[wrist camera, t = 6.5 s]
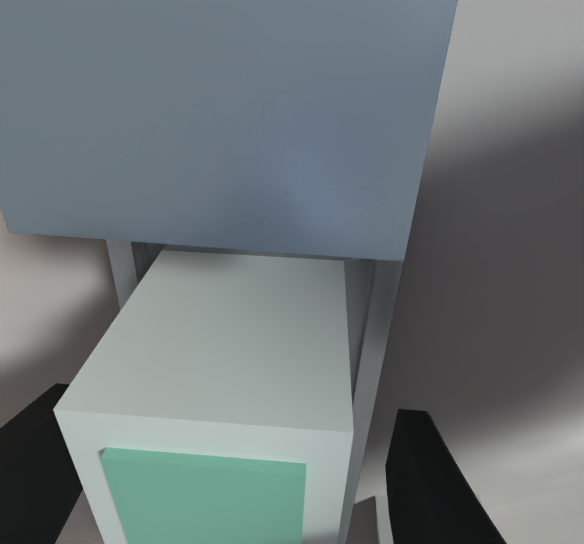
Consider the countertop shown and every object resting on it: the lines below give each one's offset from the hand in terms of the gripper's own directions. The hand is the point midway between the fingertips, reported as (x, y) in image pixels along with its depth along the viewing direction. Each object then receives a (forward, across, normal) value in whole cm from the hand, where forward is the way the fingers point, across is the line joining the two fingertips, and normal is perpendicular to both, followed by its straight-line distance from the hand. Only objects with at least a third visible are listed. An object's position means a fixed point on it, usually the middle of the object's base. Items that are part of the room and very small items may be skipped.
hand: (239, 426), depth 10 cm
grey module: (+3, 0, 0) cm, 3 cm away
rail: (+4, 0, 0) cm, 4 cm away
